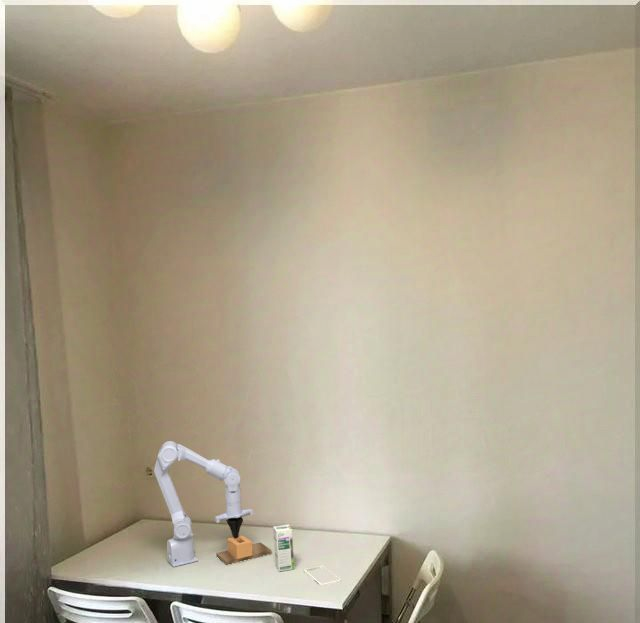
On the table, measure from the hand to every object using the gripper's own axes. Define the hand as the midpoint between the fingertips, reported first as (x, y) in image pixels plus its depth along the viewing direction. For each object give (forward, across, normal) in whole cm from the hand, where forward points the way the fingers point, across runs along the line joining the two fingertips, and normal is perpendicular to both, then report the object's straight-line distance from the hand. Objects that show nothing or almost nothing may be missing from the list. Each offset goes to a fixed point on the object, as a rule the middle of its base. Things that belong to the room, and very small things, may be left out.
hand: (235, 537), depth 259 cm
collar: (+5, 0, -4) cm, 6 cm away
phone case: (+7, +16, -37) cm, 41 cm away
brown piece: (+6, +2, -3) cm, 7 cm away
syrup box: (+7, +9, -23) cm, 25 cm away
